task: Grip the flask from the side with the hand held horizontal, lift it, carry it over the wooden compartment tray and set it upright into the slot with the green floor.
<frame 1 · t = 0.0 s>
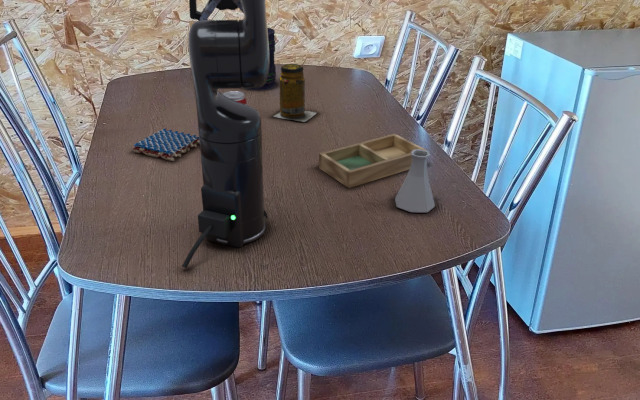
hand: (229, 39, 112), 22 cm above the table, tool pointing down, fingers open, 8 cm apart
condiment: (295, 116, 139), on the table
flask: (414, 204, 101), on the table
woven mat: (167, 149, 120), on the table
storage jar: (258, 85, 159), on the table
wooden compartment tray: (372, 166, 114), on the table
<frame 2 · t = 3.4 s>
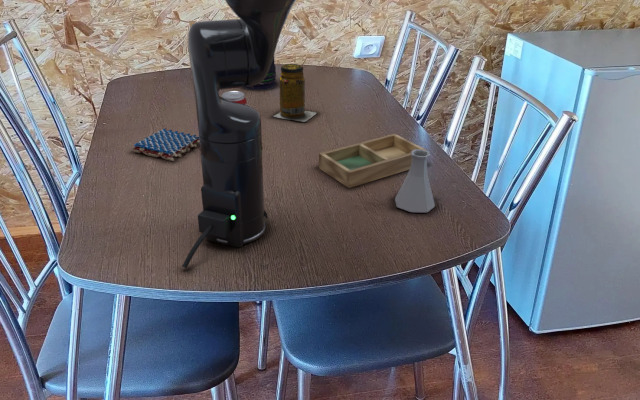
nothing on the table moved.
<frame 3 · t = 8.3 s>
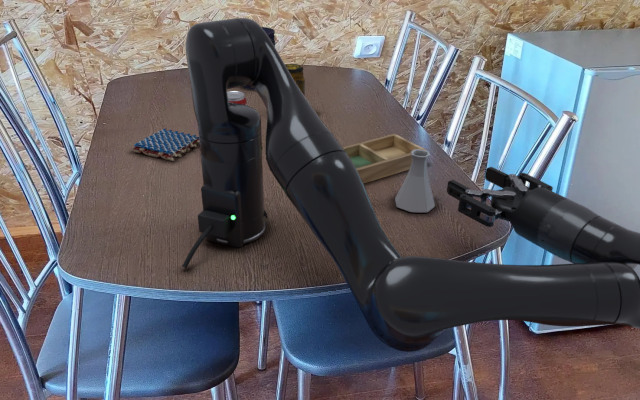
hand: (468, 179, 88), 10 cm above the table, tool horizontal, fingers open, 8 cm apart
nothing on the table moved.
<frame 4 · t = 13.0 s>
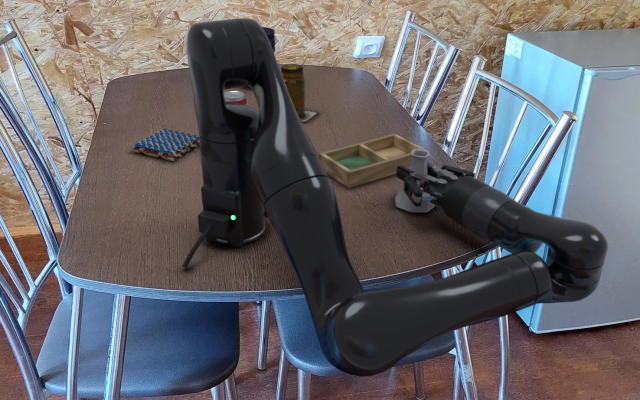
hand: (407, 167, 100), 6 cm above the table, tool horizontal, fingers closed on flask, 3 cm apart
flask: (414, 204, 101), on the table, touching gripper
everything else where it was.
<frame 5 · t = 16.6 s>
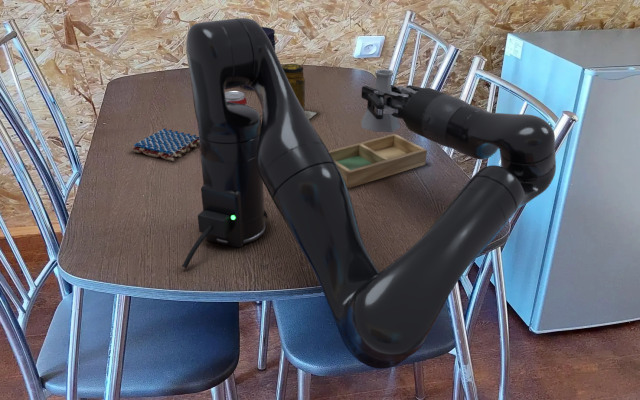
hand: (372, 89, 101), 18 cm above the table, tool horizontal, fingers closed on flask, 3 cm apart
flask: (380, 127, 102), point 12 cm above the table, touching gripper
everything else where it was.
when the fingers open (7 cm above the table, at t = 20.7 s): flask stays where it is, resting on wooden compartment tray.
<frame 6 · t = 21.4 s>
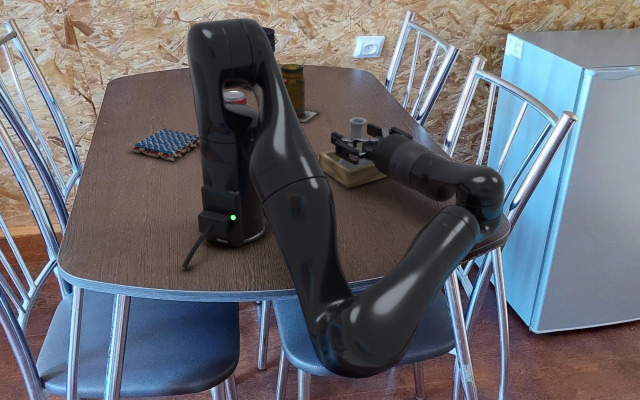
hand: (350, 132, 109), 8 cm above the table, tool horizontal, fingers open, 8 cm apart
flask: (355, 169, 111), point 1 cm above the table, touching wooden compartment tray
everything else where it was.
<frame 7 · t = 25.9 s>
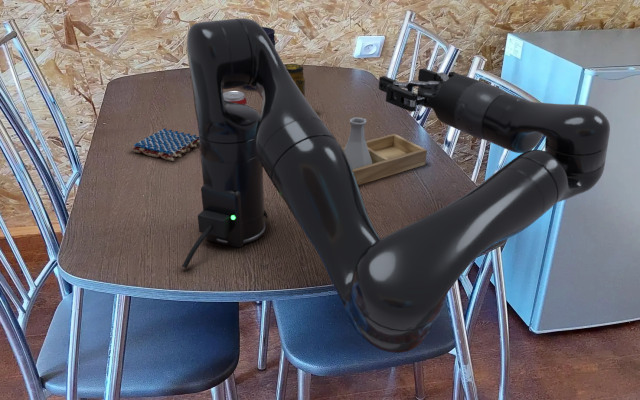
hand: (400, 78, 93), 22 cm above the table, tool horizontal, fingers open, 8 cm apart
nothing on the table moved.
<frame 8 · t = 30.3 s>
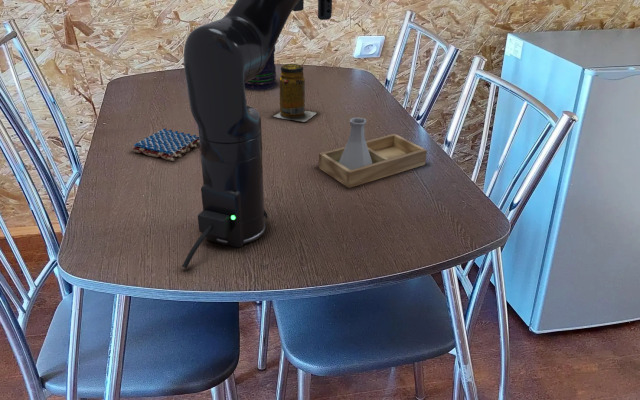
hand: (310, 14, 96), 30 cm above the table, tool pointing down, fingers open, 8 cm apart
nothing on the table moved.
at the end: flask 0.4 cm from the target spot in the wooden compartment tray, point 0.8 cm above the wooden compartment tray's base; flask tilted 0°; the gripper is holding nothing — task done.
